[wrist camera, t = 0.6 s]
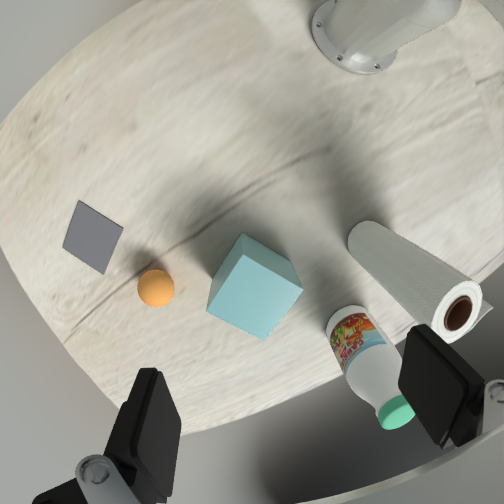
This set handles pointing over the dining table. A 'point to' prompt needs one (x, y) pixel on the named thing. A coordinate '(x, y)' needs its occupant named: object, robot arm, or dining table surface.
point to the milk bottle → (369, 363)
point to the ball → (155, 288)
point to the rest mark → (92, 237)
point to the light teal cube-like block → (253, 288)
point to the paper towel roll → (419, 280)
